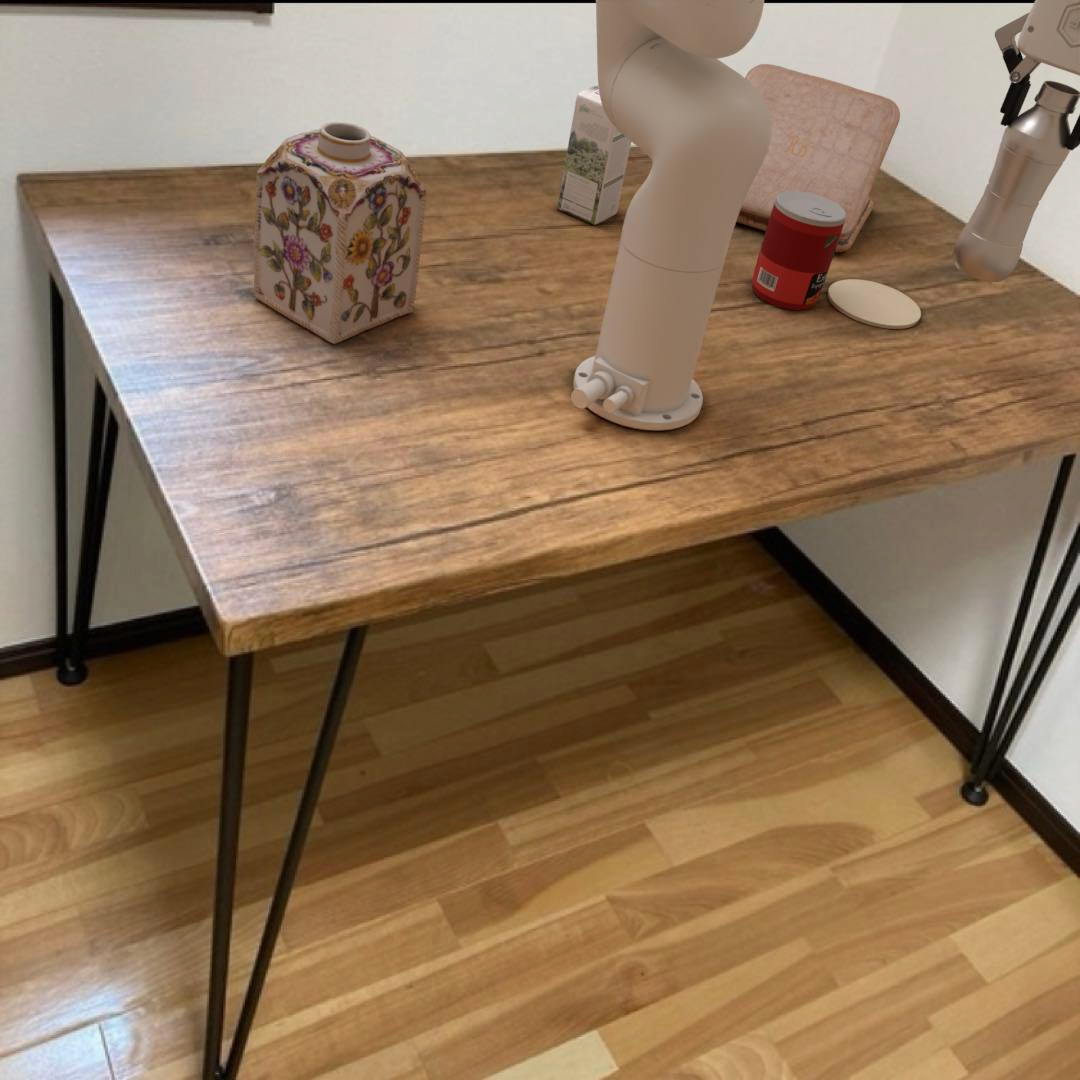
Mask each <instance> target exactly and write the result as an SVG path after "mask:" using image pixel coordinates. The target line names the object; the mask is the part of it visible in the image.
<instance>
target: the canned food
mask: <svg viewBox="0 0 1080 1080" xmlns="http://www.w3.org/2000/svg"><path fill="white" fill-rule="evenodd" d="M845 217H846V212H845V210H844V209H843V208H842V207H841V206H839V205H838V204H837V203H835V202H833V201H831V200H829V199H827V198H825V197H822V196H819V195H816V194H812V193H808V192H801V191H787V192H782V193H780V194H778V196H777V197H776V200H775V202H774V205H773V209H772V212H771V215H770V219H769V222H768V226H767V229H766V231H764V232H765V233H764V236H763V239H762V243H761V246H760V250H759V253H758V256H757V259H756V260H757V261H756V264H755V268H754V271H753V275H752V278H751V288H752V291H753V292H754V294H755V295H756V296H757V297H758V298H759V299H761V300H762V301H764V302H765V303H767V304H770V305H772V306H775V307H778V308H781V309H785V310H791V311H805V310H808V309H811V308H813V307H814V306H815V305H816V304H817V302H818V301H819V299H820V297H821V294H822V291H823V288H824V285H825V282H826V279H827V276H828V273H829V270H830V268H831V265H832V261H833V259H834V256H835V253H836V252H835V250H836V247H837V244H838V241H839V238H840V235H841V232H842V229H843V225H844V222H845Z"/></svg>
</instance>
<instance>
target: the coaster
mask: <svg viewBox="0 0 1080 1080" xmlns="http://www.w3.org/2000/svg"><path fill="white" fill-rule="evenodd" d="M826 294H827V299H828V302H829V303H830V304H831V305H832V306H833V307H834V308H835V309H836V310H838V312H840V313H841V314H843V315H844V316H847V317H848V318H851V319H853V320H855V321H857V322H860V323H861V324H865V325H868V326H871V327H875V328H882V329H887V330H888V329H889V330H904V329H908V328H911V327H914V326H915V325H917V324H918V323H919V321H920V320H921V317H922V311H921V309H920V307H919V305H918V304H917V303H916V302H915V301H914V300H913V299H912V298H911V297H909V296H908V295H906V294H905V293H903V292H901V291H899V290H898V289H895V288H894V287H891V286H889V285H885V284H883V283H879V282H876V281H871V280H865V279H858V278H849V279H848V278H847V279H841V280H837V281H834V282H833V283H832V284H830V285H829V287H828V290H827V293H826Z"/></svg>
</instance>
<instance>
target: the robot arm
mask: <svg viewBox="0 0 1080 1080" xmlns="http://www.w3.org/2000/svg"><path fill="white" fill-rule="evenodd" d="M764 4H765V0H595V19H596V24H595V26H596V65H597V66H596V67H597V86H598V87H599V93H600V99H601V103H602V106H603V109H604V111H605V113H606V115H607V117H608V118H609V120H610V121H611V123H612V124H613V125H614V126H615V127H616V128H617V129H618V130H619V131H620V132H621V133H622V134H623V135H624V136H625V137H627V138H628V139H629V140H630V141H632V142H631V143H632V144H634V145H635V146H636V147H637V148H639V149H640V150H641V151H642V152H643V153H644V154H645V155H646V156H648V157H649V158H650V160H651V163H652V164H651V169H650V171H649V173H648V175H647V177H646V179H645V180H644V182H643V183H642V184H641V186H640V187H639V188H638V190H636V192H635V194H634V195H633V197H632V198H631V201H630V203H629V205H628V208H627V210H626V213H625V217H624V220H623V224H622V229H621V235H620V240H619V244H618V248H617V249H618V250H617V254H616V259H615V263H614V268H613V271H612V275H611V276H612V277H611V281H610V286H609V292H608V296H607V299H606V305H605V309H604V313H603V317H602V323H601V327H600V332H599V336H598V341H597V345H596V350H595V354H594V355H592V356H590V357H588V358H586V359H584V360H582V361H581V363H580V364H579V365H577V367H576V370H575V372H574V375H573V381H572V384H573V390H572V392H571V393H570V400H571V403H572V404H573V406H574V407H576V408H577V409H579V410H583V409H586V408H587V409H589V410H590V411H591V412H592V413H594V414H596V415H597V416H599V417H601V418H603V419H605V420H607V421H610V422H612V423H614V424H618V425H620V426H623V427H627V428H630V429H636V430H641V431H659V432H660V431H670V430H675V429H678V428H682V427H684V426H686V425H689V424H691V423H693V421H694V420H696V419H697V417H698V416H699V414H700V413H701V409H702V407H703V403H704V396H703V393H702V389H701V388H700V386H699V384H698V383H697V382H696V381H695V379H693V378H694V374H695V371H696V368H697V363H698V359H699V356H700V354H701V353H700V352H701V349H702V345H703V341H704V338H705V334H706V332H707V331H706V330H707V328H708V324H709V319H710V318H711V317H710V316H711V312H712V309H713V305H714V302H715V298H716V294H717V291H718V289H719V288H718V287H719V284H720V281H721V280H720V279H721V276H722V275H723V274H722V273H723V269H724V266H725V263H726V258H727V254H728V250H729V247H730V243H731V240H732V237H733V234H734V230H735V227H736V223H737V222H736V221H737V218H738V215H739V212H740V209H741V207H742V204H743V202H744V200H745V197H746V195H747V193H748V191H749V189H750V186H751V185H752V183H753V181H754V179H755V177H756V175H757V173H758V171H759V169H760V167H761V165H762V163H763V161H764V159H765V156H766V154H767V151H768V148H769V144H770V140H771V133H772V126H771V117H770V113H769V110H768V107H767V105H766V103H765V101H764V99H763V97H762V96H761V94H760V93H759V92H758V90H757V89H756V88H755V87H754V86H753V85H752V84H751V83H750V82H749V81H748V80H747V79H745V77H744V76H743V75H742V74H741V73H739V72H738V71H736V70H735V69H733V68H731V67H730V66H728V65H727V64H726V63H724V62H722V61H721V60H720V59H724V58H727V57H730V56H733V55H736V54H737V53H739V52H740V51H742V50H743V49H744V48H745V47H746V46H747V45H748V44H749V43H750V41H751V40H752V39H753V37H754V36H755V34H756V32H757V30H758V28H759V25H760V22H761V19H762V16H763V12H764V11H763V10H764ZM1019 33H1020V34H1019ZM1018 34H1019V36H1018V40H1017V42H1016V36H1017V35H1018ZM994 38H995V40H996V43H997V45H998V48H999V50H1000V52H1001V54H1002V59H1003V61H1004V64H1005V67H1006V69H1007V72H1008V74H1009V75H1008V76H1009V77H1008V78H1009V82H1010V84H1009V87H1008V90H1007V92H1006V94H1005V97H1004V99H1003V101H1002V104H1001V107H1000V110H999V113H1001V114H1003V116H1002V118H1001V120H1000V125H1001V126H1004V127H1007V126H1008V125H1009V124H1010V123H1011V122H1012V120H1014V119H1015V118H1016V117H1018V116H1019V115H1020V112H1021V110H1022V107H1023V106H1024V103H1025V101H1026V98H1027V96H1028V94H1029V91H1030V88H1031V86H1032V83H1031V81H1030V80H1031V75H1032V73H1033V72H1034V71H1035V70H1036V69H1037V68H1038V67H1039V66H1040V65H1041V64H1044V65H1047V66H1048V65H1049V66H1051V67H1054V68H1055V69H1059V70H1061V71H1065V72H1067V73H1071V74H1074V75H1077V76H1078V77H1079V76H1080V0H1035V1H1034V2H1033V4H1032V6H1031V9H1030V11H1029V12H1027V13H1025V14H1023V15H1021V16H1019V17H1018V18H1016V19H1014V20H1012V21H1010V22H1008V23H1007V24H1005V25H1003V26H1001V27H1000V28H998V29H996V30H995V32H994ZM1023 56H1025V57H1023ZM1079 146H1080V114H1079V115H1078V117H1077V118H1076V122H1075V124H1074V126H1073V128H1072V131H1071V135H1070V137H1069V139H1068V142H1067V144H1066V147H1067V149H1069V150H1070V152H1071V151H1074V150H1075V149H1076V148H1078V147H1079Z"/></svg>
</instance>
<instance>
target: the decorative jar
mask: <svg viewBox="0 0 1080 1080" xmlns="http://www.w3.org/2000/svg"><path fill="white" fill-rule="evenodd" d="M255 185H256V186H255V188H256V189H255V212H254V214H255V215H254V239H253V296H254V298H255V299H256V300H258V301H260V302H261V303H263V304H264V305H267V306H268V307H270V308H271V309H273V310H275V312H277V313H280V314H281V315H283V316H284V317H286V318H288V319H289V320H291V321H293V322H294V323H296V324H298V325H300V326H302V327H303V328H305V329H307V330H308V331H310V332H312V333H313V334H315V335H317V336H318V337H320V338H322V339H324V340H325V341H326V342H328V343H330V344H333V345H337V344H339V343H341V342H343V341H345V340H348V339H349V338H352V337H354V336H356V335H359V334H361V333H363V332H366V331H367V330H368V331H369V330H371V329H373V328H376V327H379V326H381V325H383V324H385V323H388V322H390V321H392V320H394V319H397V318H399V317H402V316H405V315H408V314H411V313H413V311H414V309H415V302H416V293H417V285H418V279H419V270H420V263H421V252H422V244H423V234H424V233H423V232H424V224H425V223H424V222H425V215H426V213H425V212H426V202H427V201H426V200H427V188H426V187H425V186H424V184H423V183H422V181H421V179H420V177H419V176H418V174H417V173H416V172H415V170H414V168H413V167H412V165H411V164H410V163H409V161H408V159H407V158H406V156H405V154H404V153H403V152H402V151H401V150H399V148H396V147H394V146H392V145H390V144H388V143H386V142H384V141H382V140H381V139H379V138H377V137H374V136H372V135H371V133H370V132H369V131H368V129H366V128H364V127H363V126H359V125H358V124H353V123H349V122H338V121H337V122H336V121H335V122H333V121H332V122H328V123H324V124H323V125H322V126H320V128H318V129H313V130H310V131H306V132H301V133H298V134H296V135H293V136H292V135H291V136H290V137H287V138H285V139H284V140H283V141H282V143H281V144H280V145H279V146H278V147H277V148H276V150H274V151H273V152H272V153H271V154H270V155H269V157H268V158H267V159H266V160H265V162H264V163H263V164H262V166H261V167H259V168H258V169H257V172H256V184H255Z"/></svg>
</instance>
